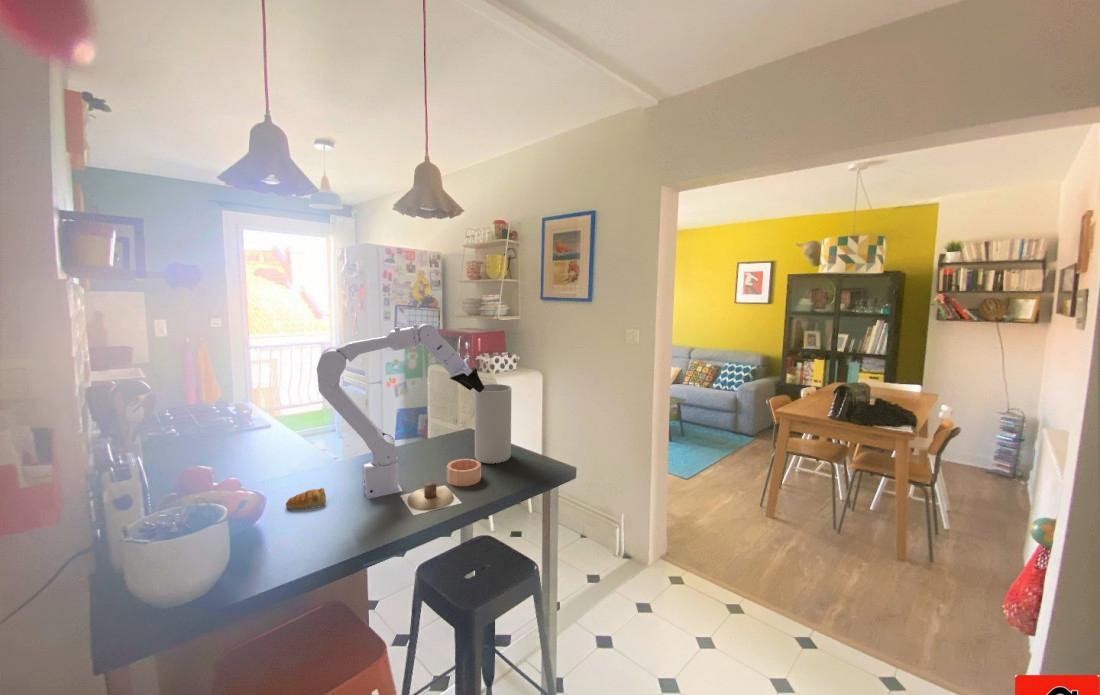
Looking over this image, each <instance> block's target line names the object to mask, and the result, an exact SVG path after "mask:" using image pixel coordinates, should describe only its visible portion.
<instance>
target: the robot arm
mask: <svg viewBox="0 0 1100 695" xmlns="http://www.w3.org/2000/svg"><path fill="white" fill-rule="evenodd" d="M393 328H394V329H392V330H390V331H389V333H388V334H387V335H385V336H379V337H374V338H369V339H368V338H367V339H362V340H355V341H354V340H353V341H349V342H345V343H342V344H339V345H336V347H335V346H332V347H328V348H327V349H325V350H323V351H322V354H321V356H320V357H319V360H318V363H317V366H316V376H317V387H318V392H319V393H320V395H321V397H323V398H324V399H325V400H326V401H327V402H328V403H329V404H330V406H332V408H334V410H335V411H336V412H337V413H338V414H339V415H340V416H341V417H342V418H343V420H344V421H346V423H347V424H348V425H349V426H350V427H351V428H352V429H353V430H354V431H355V432H356V434H358V436H360V438H361V439H362V440H363V441H364V443H365V445H366V446H367V448H368V449H369V451H370V452H371V453H372V458H371V459H370V461H369V462H367V463H364V464H362V468H361V469H362V470H361V473H362V474H361V476H362V491H363V493H364V495H365V497H366V499H373V498H377V497H381V496H388V495H391V494H396V493H400V492H401V493H402V492H404V491H403V489H402V488H401V486H400V485H399V457H398V448H397V446H396V443H395V438H394V437H393V436H392V435H391V434H389V433H386V432H384V431H383V430H382V429H381V428H380V427H379V426H377V425H376V424H375V423H374V421H372V420H371V419H370V417H369V416H368V415H367V414H366V413H365V412H364V411H363V410H362V409H361V407H359V405H358V404H357V403H356V402H355V401H354V400H353V398H352V397H351V396H349V394H348V393H347V392H346V391H345V389H343V388H342V386H341V385H340V381H341V376H342V374H343V373H344V371H345V368H346V366H347V360H348V361H349V363H351V362H352V361H353V360H355V358H357V357H358V356H360V355H362V354H366V353H370V352H374V351H378V350H379V351H380V350H383V349H387V348H390V349H391V350H393V351H401V350H405V349H410V348H416V347H418V346H419V345H422V346H423V345H424V347H425V348H426V349H427V350H428V351H429V353H430V355H432V357H434V359H435V360H436V361H437V362H438V363H439V364H440V366H442V368H444V370H446V372H448V374H449V376H450V377H449V380H452V381H454V382H457V383H458V384H460V385H461V386H462V387H464V388H466V389H467V390H469V391H472V390H473V389H474V391H475V390H476V391H478V392H481V391H482V390H483V389H484V386H483V385H484V384H483V382H482V380H481V378H480V376H479V374H478V369H477V368H476V367H472V368H471V367H469V365H468V362H469V358H464V359H463V357H461V356H460V355H459V354H458V352H457V351H456V350H455V349H454V348H453V347H452V345H451V344H449V343H448V341H447V340H446V339H445V338H443V336H442V335H441V334H439V330H438V329H437V327H435V326H433V325H431V324H428V323H420V324H412V326H409V327H404V328H400V327H399V326H397V327H393Z"/></svg>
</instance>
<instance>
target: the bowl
mask: <svg viewBox="0 0 1100 695" xmlns="http://www.w3.org/2000/svg"><path fill="white" fill-rule="evenodd" d="M481 479H482V462H479V461H478V460H476V459H473V458H459V459H454V460H452V461H450V462H448V463H447V465H446V482H447V483H448V484H449V485H452V486H456V487H468V486H472V485H476V484H477V483H479V482H481Z"/></svg>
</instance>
